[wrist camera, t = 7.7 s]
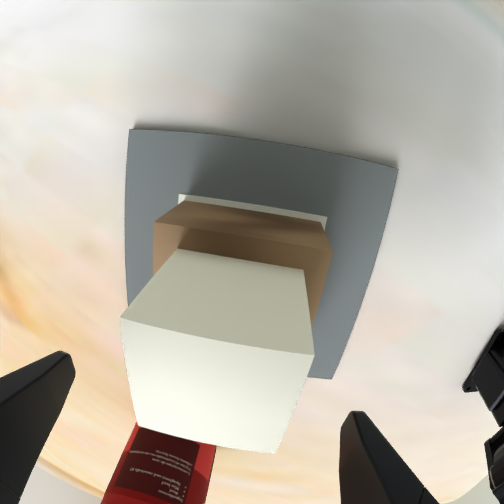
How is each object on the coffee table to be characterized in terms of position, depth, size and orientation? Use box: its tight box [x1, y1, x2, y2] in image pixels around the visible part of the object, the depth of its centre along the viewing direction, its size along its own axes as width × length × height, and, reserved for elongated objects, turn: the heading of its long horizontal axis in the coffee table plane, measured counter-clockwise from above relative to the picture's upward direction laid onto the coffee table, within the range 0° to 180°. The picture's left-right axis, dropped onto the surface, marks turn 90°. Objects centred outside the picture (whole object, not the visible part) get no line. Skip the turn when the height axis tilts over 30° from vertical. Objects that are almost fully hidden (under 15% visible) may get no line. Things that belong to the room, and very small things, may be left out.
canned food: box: [101, 422, 216, 504], centre depth 19 cm, size 8×8×11 cm
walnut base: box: [153, 200, 333, 329], centre depth 14 cm, size 7×7×4 cm
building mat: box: [125, 129, 398, 379], centre depth 17 cm, size 14×14×1 cm
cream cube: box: [119, 248, 315, 454], centre depth 10 cm, size 5×5×5 cm
